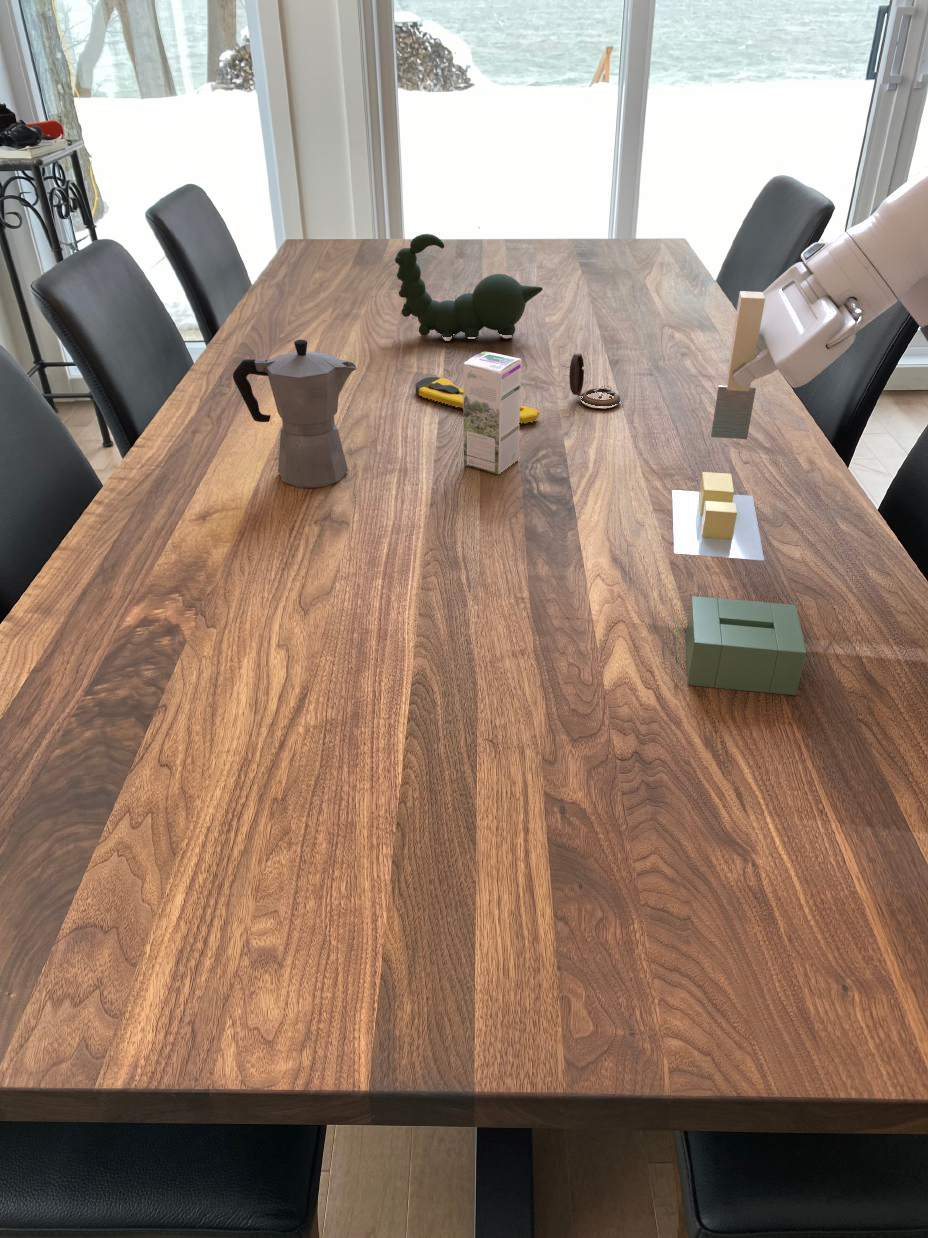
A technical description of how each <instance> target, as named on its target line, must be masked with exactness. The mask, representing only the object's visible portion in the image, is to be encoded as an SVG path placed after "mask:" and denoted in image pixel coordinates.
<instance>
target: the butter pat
mask: <svg viewBox="0 0 928 1238" xmlns="http://www.w3.org/2000/svg"><path fill="white" fill-rule="evenodd" d="M736 517H737V509H736V503H729V502H715V501H705V505H704V511H703V518H702V524H701V532H702V537H709V538H722V539H733V534H734V528H735V522H736Z"/></svg>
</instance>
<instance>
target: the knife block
mask: <svg viewBox="0 0 928 1238" xmlns="http://www.w3.org/2000/svg"><path fill="white" fill-rule="evenodd" d="M684 640H685V657H686V659H685V660H686V661H685V662H686V683H687V686H694V687H704V688H714V689H715V688H716V689H724V690H732V691H733V690H734V691H745V692H754V693H764V694H776V695H784V696H785V695H787V696H796V695H797V693H798V690H799V685H800V682H801V677H802V674H803V669H804V666H805V661H806V657H807V653H808V652H807V648H806V644H805V640H804V634H803V630H802V626H801V620H800V615H799V612H798V605H797V604H790V603H778V602H767V601H756V600H744V599H733V598H723V597H722V598H720V597H718V598H717V597H707V596H696V595H691V599H690V605H689V611H688V617H687V624H686V630H685V639H684Z"/></svg>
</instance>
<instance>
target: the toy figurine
mask: <svg viewBox="0 0 928 1238" xmlns="http://www.w3.org/2000/svg"><path fill="white" fill-rule="evenodd" d="M432 246H434V247H435V246H436V247H438V248H440V249H444V248H445V244H444V242H443V240H442V239H440V238H439V237H438V236H436V235H434V234H431V233H424V234H419V235H417V236H415V237H413V238H412V239H411V241H410V244H409V247H403V248H401V249H400V250H399V251H398V252H397V254H396V257H395V258H394V262H395V263H396V264H397V265H398V270H397V272H396V278H397V279H398V281H401V285H400V289H399V290H398V296H399V297H400V298H401V299H403V298H405V302H404V303H403V305H402V308H401V310H400V311H401V315H402V317H405V318H407V317H410V316H411V315H412V316H413V317H415V318H417V320H418V321H417V322H418V323H419V324H420V325H419V326H418V333H419V334H420V336H423V335H424V337H425V335H426V336H428V335H429V334H430V332H431V331H435V332H436V333H437V334H439V333H440V334H439V335H440V336H441V337H442V336H443V337H451V336H453V334H457V333H458V334H460V333H463V334H464V337H465V338H466V337H477V336H478V337H479V335H480V331H482V329H484V328H486V329H488V330H492V331H497V334H498V333H499V334H502V335H513V334H514V333H515V334H516V324H517V323H518V322H519V321H520V320H521V318H522V317H523V314H524V312H525V309H526V305H527V303H528V302H529V301H530V300H531V299H533V298H534V297H535V296H537V295H538V294H541V292H542V291H543V290H544V289H543V287H542V286H536V285H535V286H534V285H522V284H520V282H519V281H518V280H517V279H516V278H514V277H512V276H510V275H508V274H504V273H493V274H490V275H487V276H486V277H484V278H483V279H481V280H480V281H479V282H478V283H477V285H476V286H475V288H474V290H473V291H472V292H466V293H463V294H461V295H459V296H457V297H456V298H455V300H451V299H447V300H442V301H438V300H436V299H432V296H431V295H430V293H428V291H426V289H427V288H426V283H425V281H424V280H423V279H422V278H421V276H422V270H421V266H419V264H418V263H417V260H418V259H417V254H420V253H421V252H423V251H425V249H427V248H428V247H432ZM459 332H460V333H459ZM441 334H442V335H441ZM458 334H457V335H458ZM499 334H498V335H499ZM515 334H514V335H515ZM453 337H454V336H453Z"/></svg>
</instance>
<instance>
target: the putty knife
mask: <svg viewBox="0 0 928 1238" xmlns="http://www.w3.org/2000/svg"><path fill="white" fill-rule="evenodd" d="M763 292H764V291H749V290H747V291H745V290H740V291H739V293H738V300H737V305H736V313H735V319H734V327H733V330H732V331H733V332H732V338H731V344H730V345H731V346H730V351H729V358H728V360H729V363H728V362H727V363H728V364H727V370H726V376H725V385H718V387H717V393H716V401H715V407H714V413H713V419H712V425H711V432H710V438H717V439H732V440H748V437H749V431H750V424H751V420H752V414H753V413H752V412H753V408H754V403H755V397H756V390H757V388H756V387H754V386H753V387H752V386H751V384H752V382H751V383H750V384H749V385H747V386H746V387H744V388H741V387H740V386H739V385H738V384H737V383H736V382H735V381H734V378H733V375H732V373H733V371H734V370H735V369H737V368H738V367H739V366H740V365H741V364H743V363H745V364H747V363H749V362H750V361H752V360H754V359H755V355H756V350H757V344H758V338H759V332H760V326H761V321H762V315H763V309H764V303H765V297H764V294H763Z"/></svg>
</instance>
